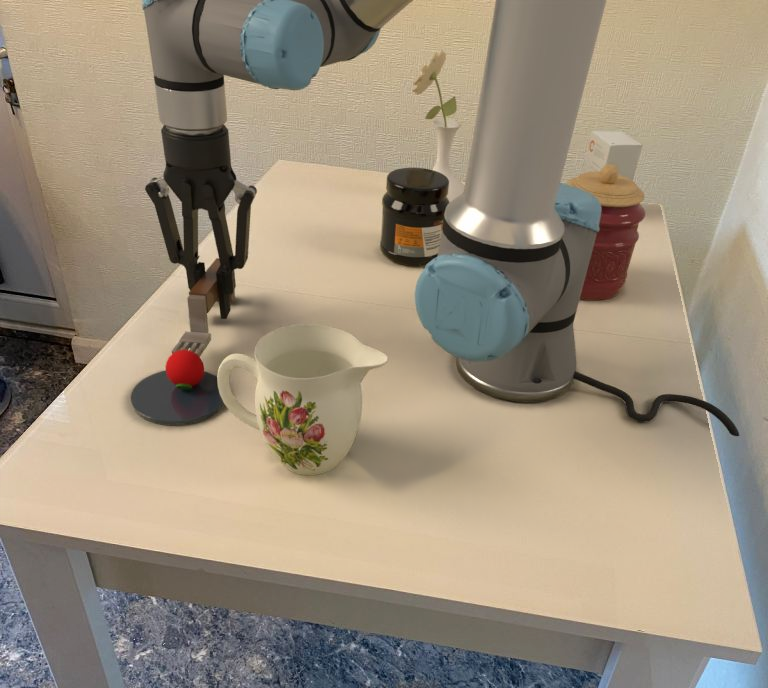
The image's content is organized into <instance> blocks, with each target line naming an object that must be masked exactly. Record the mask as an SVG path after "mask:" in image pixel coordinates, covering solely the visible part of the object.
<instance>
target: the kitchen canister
mask: <svg viewBox="0 0 768 688" xmlns="http://www.w3.org/2000/svg"><path fill="white" fill-rule="evenodd" d="M618 174H619V172H618V168H617V167H616V166H615V165H613V164H607V165H605V166H603V168H602V169H601V171H600V172H586V173H582V172H581V173H580V174H579V175H577V176H575V177H573V178H571V179H569V180H568V181H566V182H565V184H566V185H570V186H573V187H576V188H579V189H582V190H584V191H586V192H589V193H590V194H592V195H594V196H595V197H596V198H597V199H598V200H599V202H600V204H601V210H602V211H601V217H600V222H599V228H600V229H599V232H597V235H596V239H595V242H594V246H593V250H592V254H591V258H590V262H589V265H588V269H587V273H586V277H585V281H584V284H583V288H582V292H581V296H580V300H586V301H587V300H588V301H598V300H599V301H602V300H607V299H611V298H613V297H616V296H617V295H619V294H620V293H621V291H622V289H623V287H624V285H625V284H626V281H627V278H628V270H629V267H630V265H631V261H632V256H633V253H634V250H635V247H636V243H637V242H638V240H639V239H640V233H639V231H638V229H639V225H640V223H641V222H642V221H643V220H644V219H645V218H646V210H645V207H643V205H642V204H641V203H642V202H643V201H644V200H645V193H644V191H643V190H642V189H641V188H640V187H639V186H638V185H637V183H636V182H635V181H634V180H633V181H632V180H631V179H629V178H627V177H624V176H621V175H618Z"/></svg>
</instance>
